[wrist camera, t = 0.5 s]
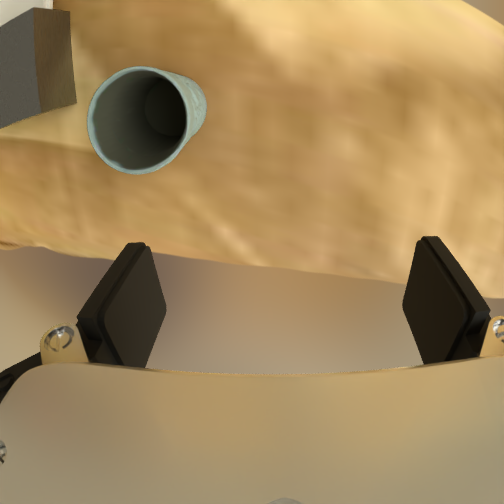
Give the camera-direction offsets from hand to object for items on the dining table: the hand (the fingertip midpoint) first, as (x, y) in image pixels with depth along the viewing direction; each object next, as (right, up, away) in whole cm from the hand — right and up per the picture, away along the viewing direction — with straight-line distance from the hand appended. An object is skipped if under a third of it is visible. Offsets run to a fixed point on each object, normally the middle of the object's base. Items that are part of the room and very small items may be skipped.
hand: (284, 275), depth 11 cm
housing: (-33, +27, +21) cm, 47 cm away
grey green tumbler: (-11, +19, +24) cm, 32 cm away
